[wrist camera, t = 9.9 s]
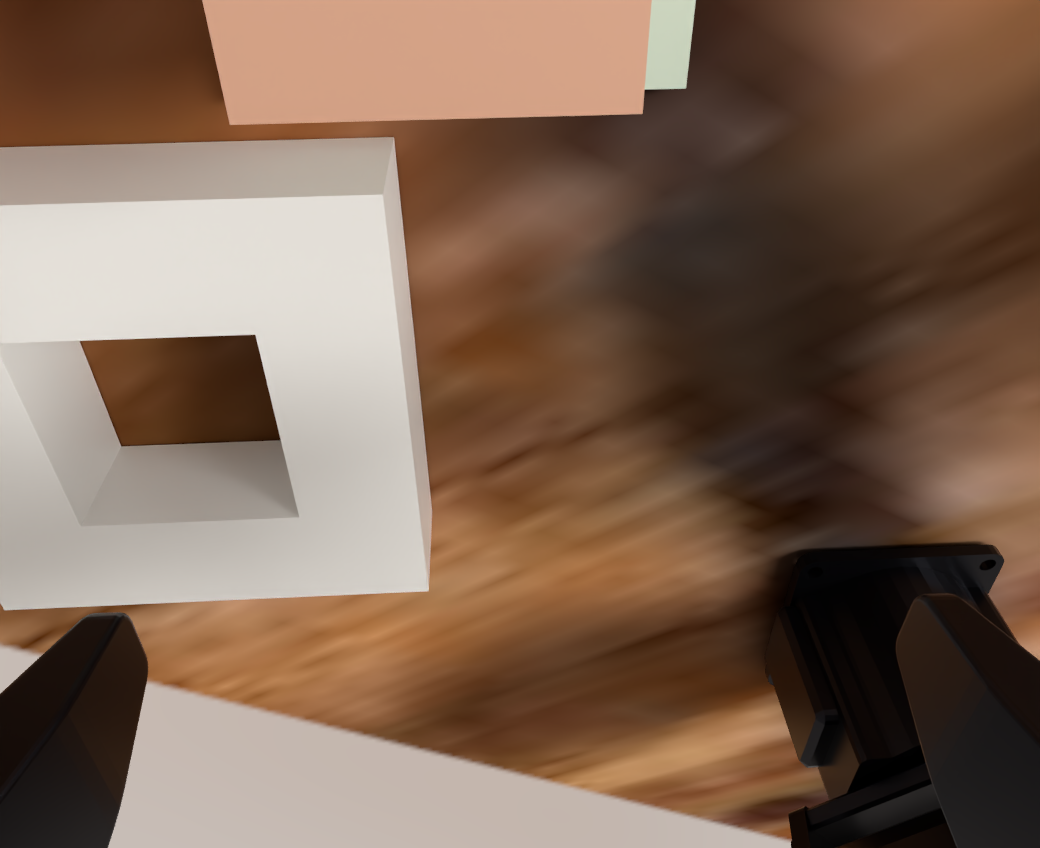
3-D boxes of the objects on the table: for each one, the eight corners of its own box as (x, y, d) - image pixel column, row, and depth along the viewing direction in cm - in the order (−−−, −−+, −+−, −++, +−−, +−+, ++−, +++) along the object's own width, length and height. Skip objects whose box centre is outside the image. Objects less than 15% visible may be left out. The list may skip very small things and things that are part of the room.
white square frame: (394, 137, 18) (382, 194, 15) (432, 511, 25) (428, 591, 22) (-141, 151, 17) (-236, 212, 15) (49, 527, 24) (4, 610, 22)
